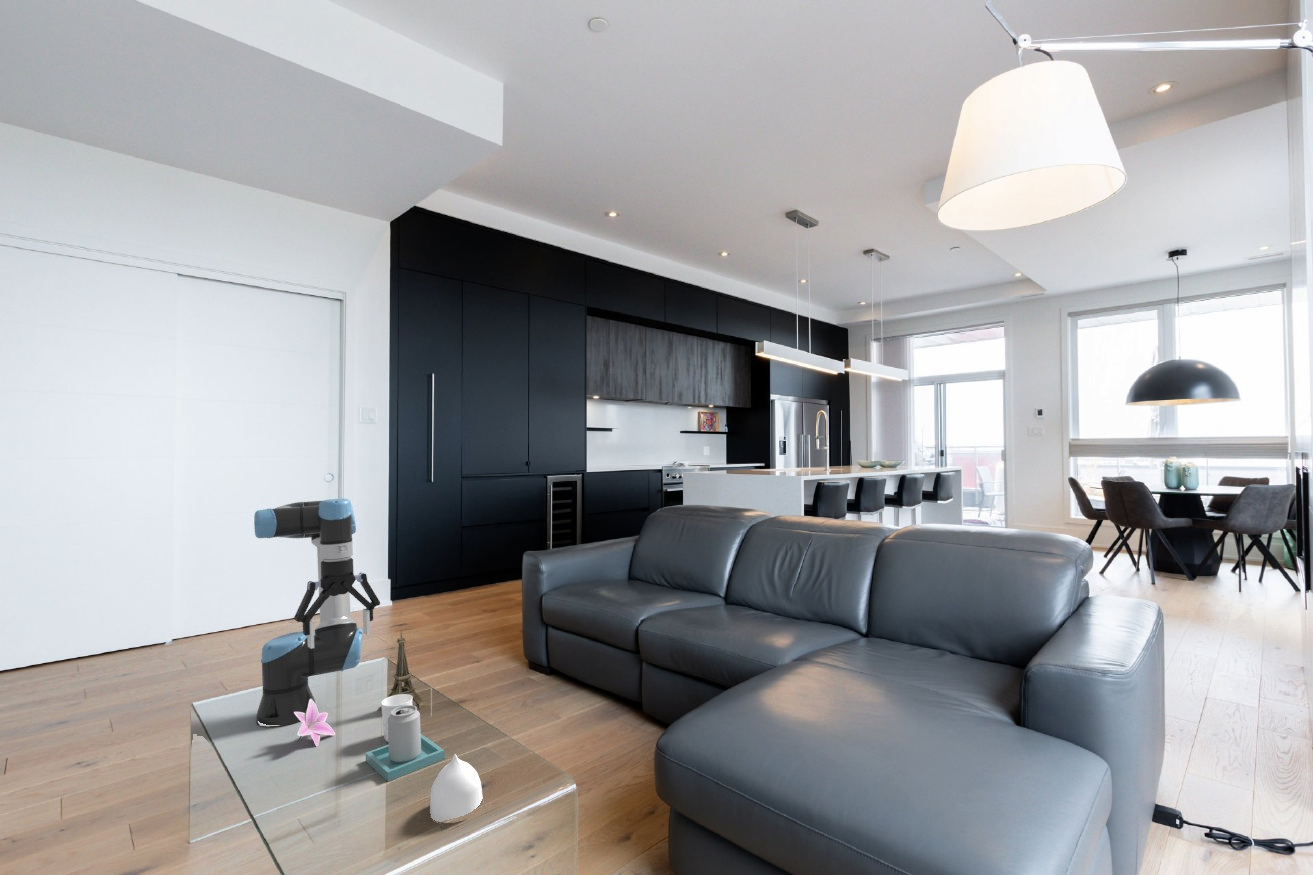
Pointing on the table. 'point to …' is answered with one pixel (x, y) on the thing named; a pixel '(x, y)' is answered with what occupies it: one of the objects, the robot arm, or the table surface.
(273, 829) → the table surface
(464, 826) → the table surface
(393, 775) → the tray
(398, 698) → the white cup
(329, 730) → the lily
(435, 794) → the teardrop
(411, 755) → the can
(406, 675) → the eiffel tower
